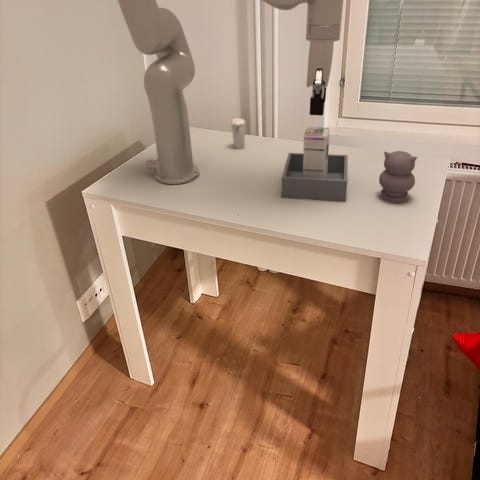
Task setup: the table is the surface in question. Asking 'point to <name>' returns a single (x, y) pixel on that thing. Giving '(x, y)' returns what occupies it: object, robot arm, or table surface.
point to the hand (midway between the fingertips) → (317, 108)
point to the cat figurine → (397, 176)
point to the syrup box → (315, 152)
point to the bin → (315, 179)
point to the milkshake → (238, 132)
